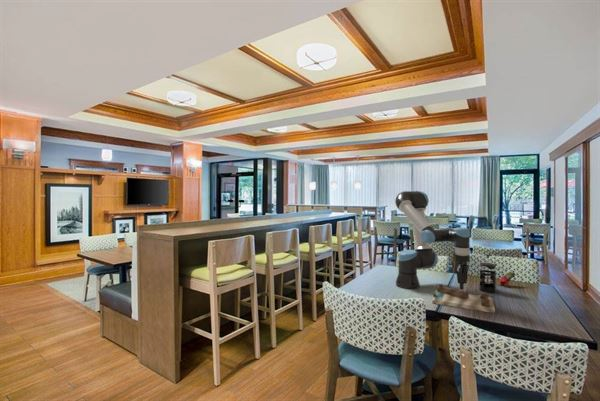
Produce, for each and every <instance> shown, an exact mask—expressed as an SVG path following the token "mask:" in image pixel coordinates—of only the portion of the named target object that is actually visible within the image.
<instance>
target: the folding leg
mask: <svg viewBox="0 0 600 401" xmlns="http://www.w3.org/2000/svg"><path fill="white" fill-rule="evenodd" d="M437 290H438V291H439V292H443V293H447V294H450V295H454V296H457V297H461V298H464V299H467V298H468V296H469V294H470V293H469V292H467V291H465V292H464V291H460V289H456V288H452V287H449V286H445V285H443V284H442V283H439V284H438V285H437Z"/></svg>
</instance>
